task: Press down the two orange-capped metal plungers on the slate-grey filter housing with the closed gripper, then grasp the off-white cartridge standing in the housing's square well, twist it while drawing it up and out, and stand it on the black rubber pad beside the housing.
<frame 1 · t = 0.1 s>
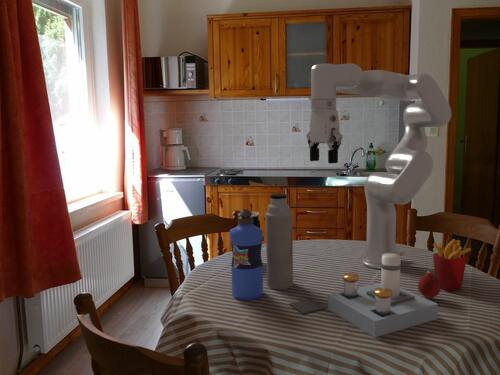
hand: (323, 161, 139), 37 cm above the table, tool pointing down, fingers open, 9 cm apart
french fries: (452, 289, 131), on the table
plunger a: (350, 288, 118), point 6 cm above the table, slide at 0.0 cm
cartridge: (389, 311, 117), resting in housing
thermos bottle: (279, 285, 138), on the table
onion: (428, 299, 124), on the table
water bottle: (247, 294, 131), on the table
housing: (380, 314, 115), on the table
travel mug: (249, 264, 159), on the table
pad: (307, 306, 121), on the table
plunger b: (382, 304, 107), point 6 cm above the table, slide at 0.0 cm
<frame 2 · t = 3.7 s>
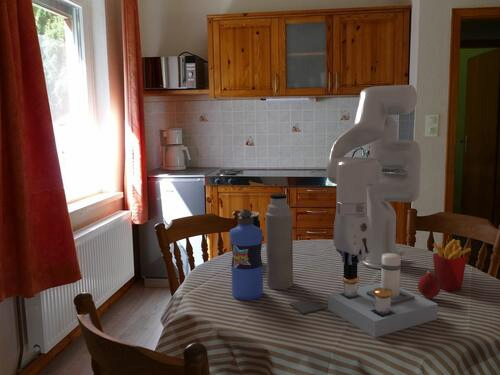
hand: (350, 277, 117), 9 cm above the table, tool pointing down, fingers closed
plunger a: (350, 290, 118), point 5 cm above the table, slide at 0.5 cm, touching gripper
everything else where it was.
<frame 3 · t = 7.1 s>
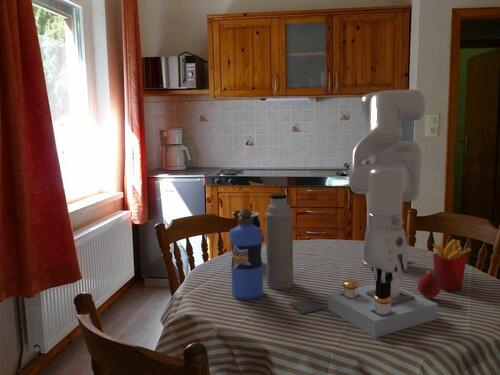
hand: (383, 296, 106), 8 cm above the table, tool pointing down, fingers closed
plunger a: (350, 295, 118), point 4 cm above the table, slide at 1.9 cm
plunger b: (382, 309, 107), point 4 cm above the table, slide at 1.4 cm, touching gripper
everything else where it was.
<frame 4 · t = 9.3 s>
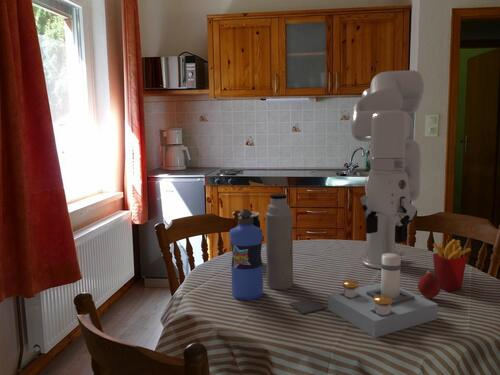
hand: (385, 237, 106), 22 cm above the table, tool pointing down, fingers open, 9 cm apart
plunger b: (382, 311, 107), point 4 cm above the table, slide at 1.9 cm
everything else where it was.
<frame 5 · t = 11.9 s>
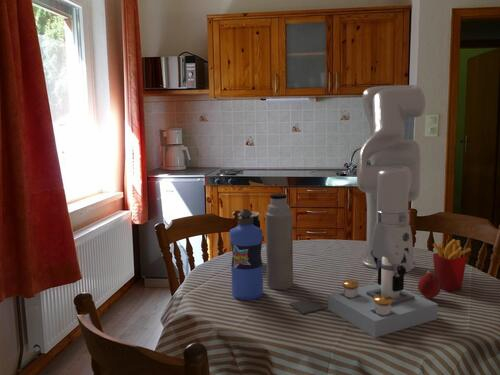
hand: (390, 286, 116), 7 cm above the table, tool pointing down, fingers closed on cartridge, 4 cm apart
cartridge: (389, 311, 117), resting in housing, touching gripper
everything else where it was.
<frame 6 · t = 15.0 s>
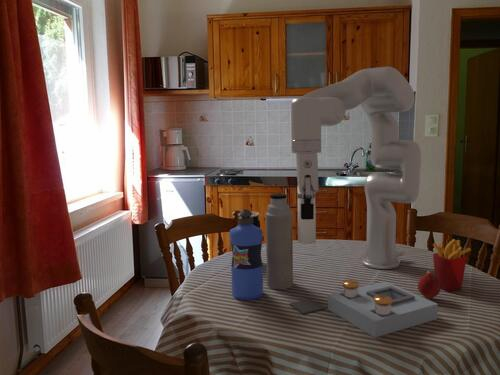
hand: (306, 216, 117), 25 cm above the table, tool pointing down, fingers closed on cartridge, 4 cm apart
cartridge: (306, 241, 118), point 18 cm above the table, touching gripper
everything else where it was.
when the fingers open (9 cm above the table, at t = 18.3 s): cartridge drops 1 cm, resting on pad.
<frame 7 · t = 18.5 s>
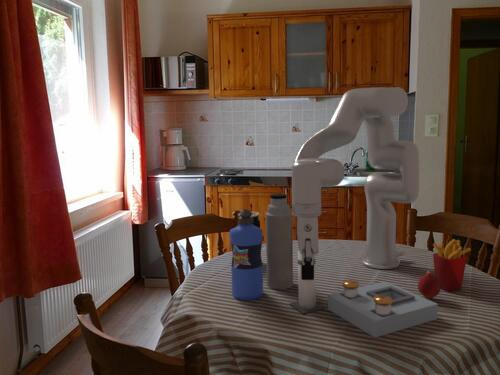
hand: (306, 274, 120), 9 cm above the table, tool pointing down, fingers open, 6 cm apart
cartridge: (307, 305, 121), resting on pad
everything else where it was.
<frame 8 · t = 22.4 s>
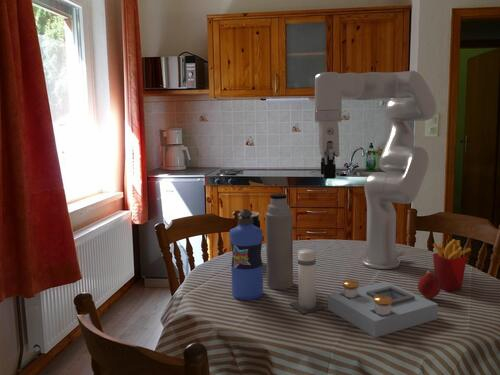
hand: (327, 176, 131), 33 cm above the table, tool pointing down, fingers open, 9 cm apart
nothing on the table moved.
at the end: cartridge inside the target area on the pad (0.1 cm from its centre), point 0.4 cm above the pad's base; plunger a slide at 1.9 cm; plunger b slide at 1.9 cm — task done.
